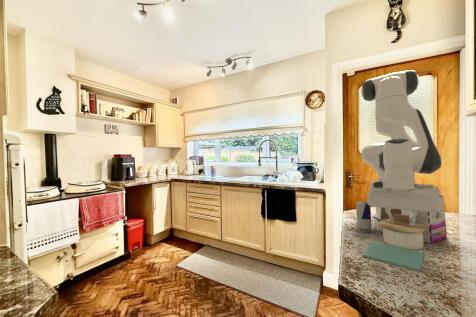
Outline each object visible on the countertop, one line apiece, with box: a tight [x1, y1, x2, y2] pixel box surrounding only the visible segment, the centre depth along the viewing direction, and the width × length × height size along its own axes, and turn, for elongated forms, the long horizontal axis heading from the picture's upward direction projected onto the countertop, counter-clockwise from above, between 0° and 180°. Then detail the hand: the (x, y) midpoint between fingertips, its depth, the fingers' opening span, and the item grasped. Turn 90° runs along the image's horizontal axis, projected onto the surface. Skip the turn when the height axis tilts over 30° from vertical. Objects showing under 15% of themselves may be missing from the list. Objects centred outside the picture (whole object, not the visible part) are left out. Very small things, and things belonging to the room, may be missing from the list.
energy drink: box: [355, 201, 373, 233], centre depth 89 cm, size 5×5×12 cm
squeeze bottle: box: [379, 208, 402, 229], centre depth 86 cm, size 8×8×18 cm
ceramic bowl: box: [382, 228, 425, 251], centre depth 73 cm, size 11×11×6 cm
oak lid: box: [379, 214, 426, 234], centre depth 74 cm, size 13×13×4 cm
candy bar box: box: [415, 194, 448, 244], centre depth 77 cm, size 11×5×16 cm, turn 114°
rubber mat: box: [362, 241, 424, 272], centre depth 65 cm, size 14×14×1 cm
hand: (401, 221), depth 74 cm, fingers closed on oak lid, 4 cm apart
